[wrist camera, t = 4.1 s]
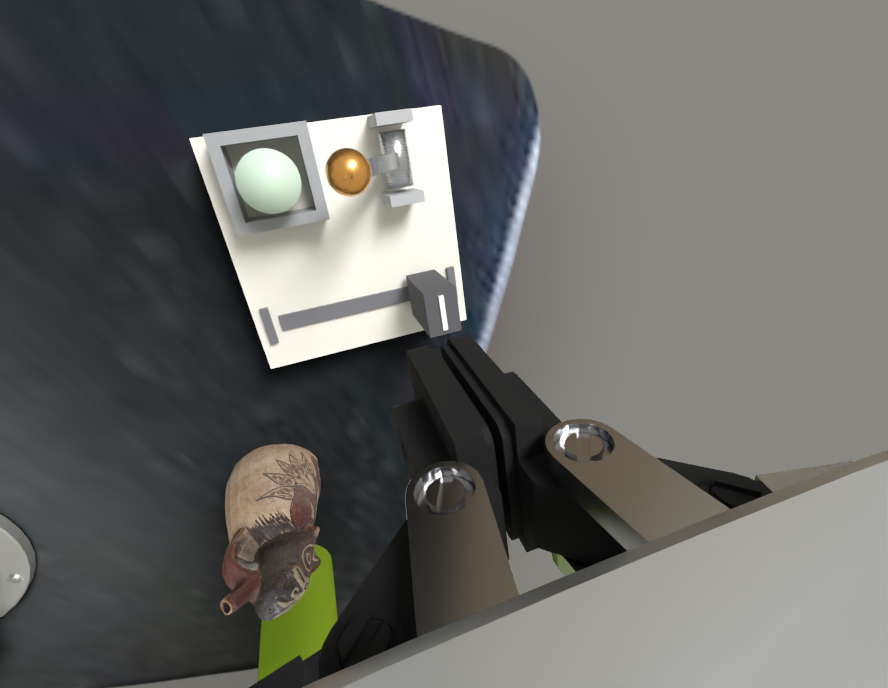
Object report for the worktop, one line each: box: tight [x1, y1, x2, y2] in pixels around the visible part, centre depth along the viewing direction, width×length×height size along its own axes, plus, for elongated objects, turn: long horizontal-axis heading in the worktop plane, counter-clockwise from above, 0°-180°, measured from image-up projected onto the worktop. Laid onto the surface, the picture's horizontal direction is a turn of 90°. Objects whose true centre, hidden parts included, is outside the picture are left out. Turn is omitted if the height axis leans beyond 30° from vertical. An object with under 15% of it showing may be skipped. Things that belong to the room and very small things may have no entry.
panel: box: [189, 105, 466, 369], centre depth 27 cm, size 14×14×6 cm
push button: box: [235, 148, 302, 214], centre depth 22 cm, size 3×3×2 cm
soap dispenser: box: [258, 544, 338, 681], centre depth 31 cm, size 6×7×20 cm
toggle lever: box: [325, 129, 414, 197], centre depth 22 cm, size 3×2×9 cm, turn 9°
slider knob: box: [406, 269, 461, 338], centre depth 28 cm, size 3×2×4 cm
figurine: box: [220, 444, 321, 621], centre depth 30 cm, size 7×7×12 cm
